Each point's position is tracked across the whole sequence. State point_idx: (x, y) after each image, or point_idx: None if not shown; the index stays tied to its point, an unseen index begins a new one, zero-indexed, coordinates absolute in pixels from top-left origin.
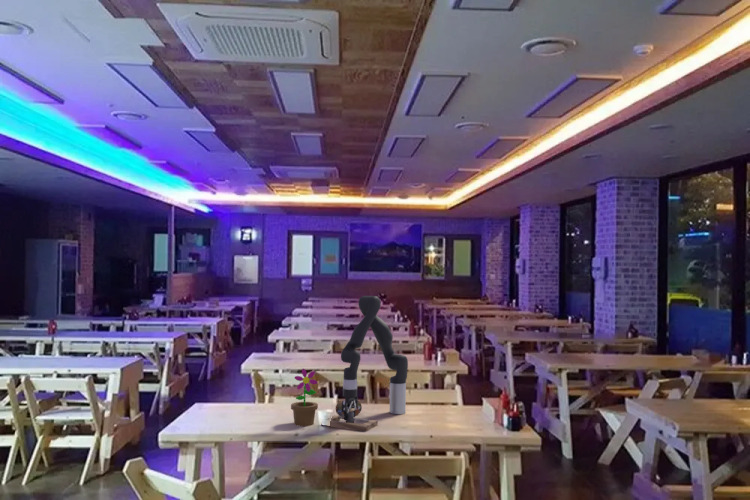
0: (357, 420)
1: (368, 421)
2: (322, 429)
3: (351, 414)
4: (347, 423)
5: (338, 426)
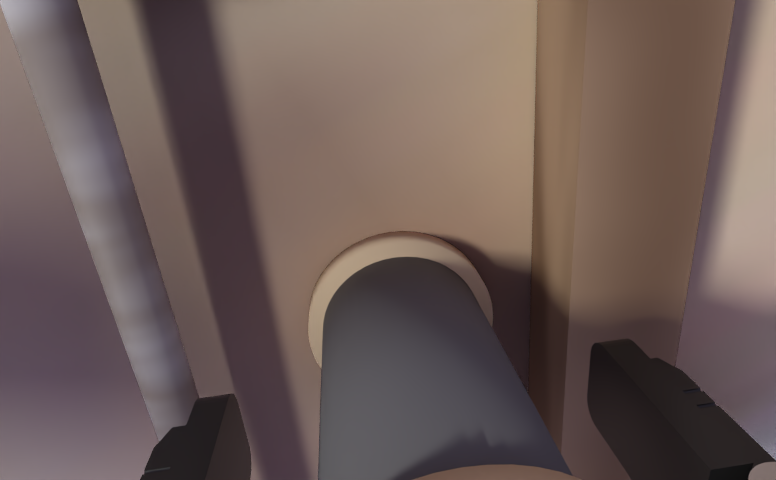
0: (172, 314)
1: (79, 18)
2: None
3: (520, 409)
4: (641, 276)
5: None
